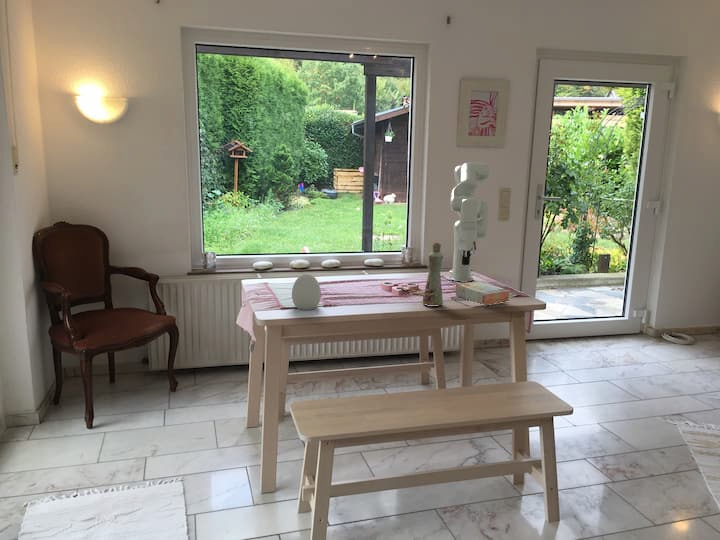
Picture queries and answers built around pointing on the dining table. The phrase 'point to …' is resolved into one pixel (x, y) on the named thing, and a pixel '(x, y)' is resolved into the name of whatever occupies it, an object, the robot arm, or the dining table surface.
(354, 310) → the dining table surface
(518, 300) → the dining table surface
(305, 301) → the decorative egg
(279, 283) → the dining table surface
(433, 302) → the bottle
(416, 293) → the turner
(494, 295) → the cracker box
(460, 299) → the mat
